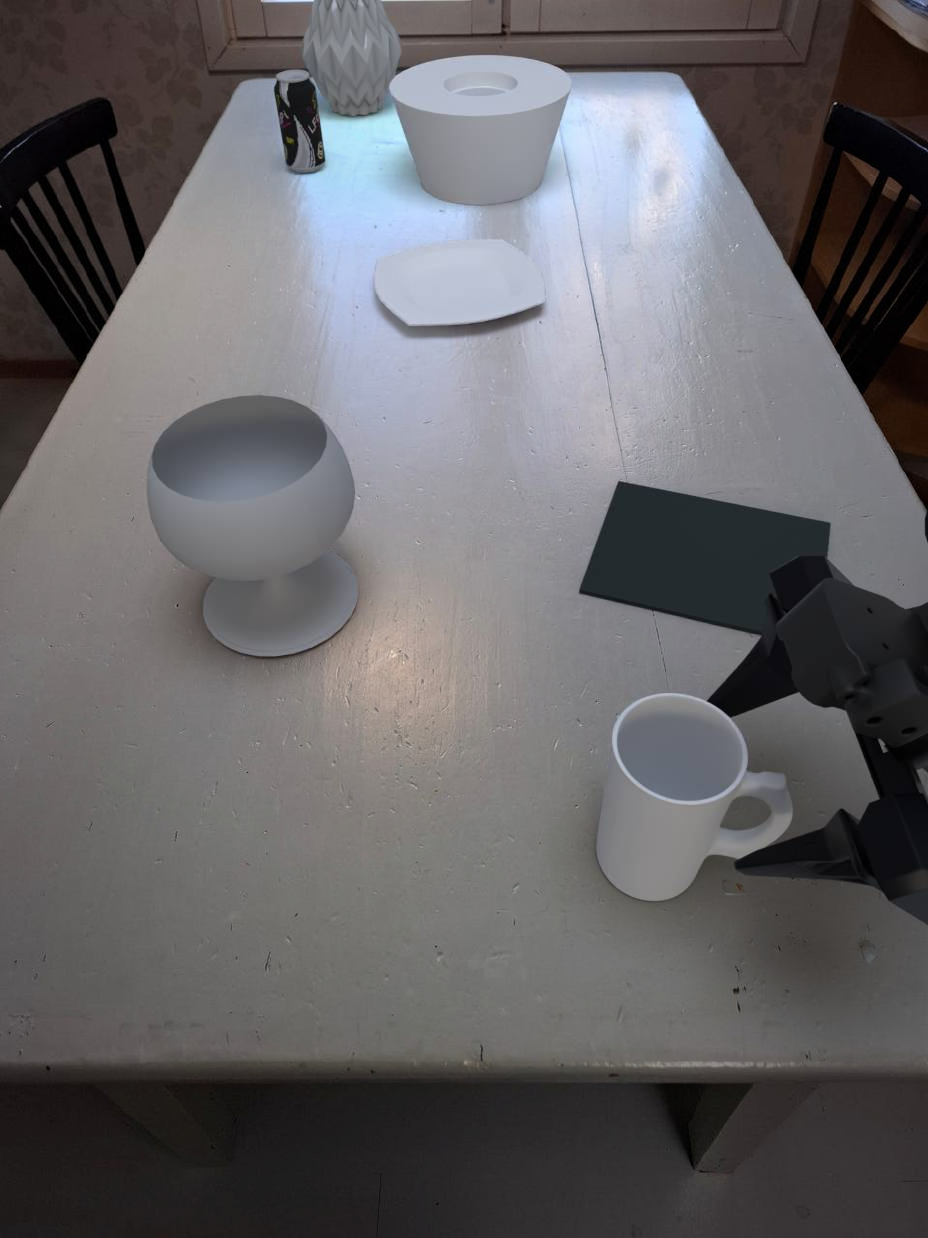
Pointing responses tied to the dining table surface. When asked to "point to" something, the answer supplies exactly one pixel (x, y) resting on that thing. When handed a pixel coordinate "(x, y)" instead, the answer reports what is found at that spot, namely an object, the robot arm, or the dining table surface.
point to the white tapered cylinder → (481, 124)
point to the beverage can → (299, 121)
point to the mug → (678, 795)
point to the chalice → (258, 519)
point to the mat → (696, 555)
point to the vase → (351, 53)
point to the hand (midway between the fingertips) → (719, 788)
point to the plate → (458, 282)
